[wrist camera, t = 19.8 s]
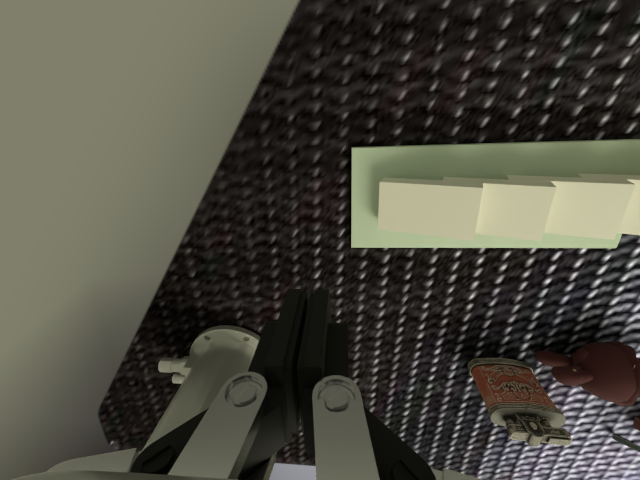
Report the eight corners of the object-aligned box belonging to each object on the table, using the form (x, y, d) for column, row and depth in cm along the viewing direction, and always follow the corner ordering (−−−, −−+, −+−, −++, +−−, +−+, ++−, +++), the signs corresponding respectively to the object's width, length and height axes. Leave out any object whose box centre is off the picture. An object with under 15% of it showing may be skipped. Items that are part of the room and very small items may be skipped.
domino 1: (377, 229, 31) (473, 241, 28) (379, 181, 29) (483, 188, 26) (382, 222, 33) (473, 233, 30) (384, 177, 31) (482, 182, 28)
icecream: (732, 369, 31) (566, 350, 33) (712, 434, 32) (554, 411, 34) (666, 336, 37) (533, 322, 40) (652, 391, 39) (524, 374, 41)
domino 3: (499, 229, 30) (614, 239, 27) (509, 179, 28) (635, 184, 25) (497, 222, 32) (605, 231, 29) (506, 174, 30) (624, 178, 27)
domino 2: (436, 229, 31) (541, 241, 27) (442, 181, 29) (556, 187, 25) (437, 222, 33) (537, 233, 29) (443, 176, 31) (551, 181, 27)
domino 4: (567, 228, 30) (695, 240, 26) (583, 177, 28) (724, 183, 24) (562, 221, 31) (682, 231, 28) (577, 173, 29) (708, 177, 26)
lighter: (465, 374, 42) (497, 448, 33) (470, 355, 41) (505, 428, 32) (525, 378, 42) (574, 455, 33) (532, 360, 40) (586, 435, 31)
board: (351, 244, 35) (351, 247, 35) (351, 147, 31) (351, 148, 30) (610, 244, 33) (616, 248, 32) (652, 138, 28) (660, 139, 28)
